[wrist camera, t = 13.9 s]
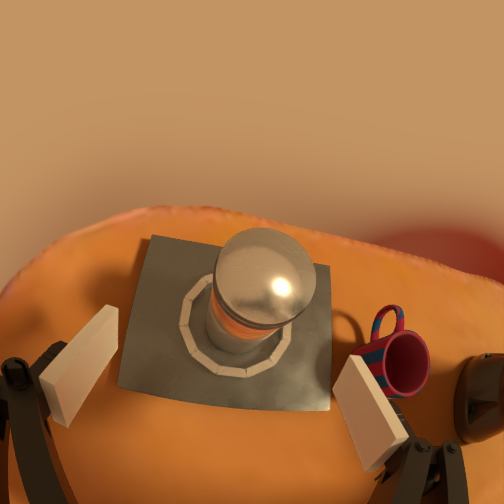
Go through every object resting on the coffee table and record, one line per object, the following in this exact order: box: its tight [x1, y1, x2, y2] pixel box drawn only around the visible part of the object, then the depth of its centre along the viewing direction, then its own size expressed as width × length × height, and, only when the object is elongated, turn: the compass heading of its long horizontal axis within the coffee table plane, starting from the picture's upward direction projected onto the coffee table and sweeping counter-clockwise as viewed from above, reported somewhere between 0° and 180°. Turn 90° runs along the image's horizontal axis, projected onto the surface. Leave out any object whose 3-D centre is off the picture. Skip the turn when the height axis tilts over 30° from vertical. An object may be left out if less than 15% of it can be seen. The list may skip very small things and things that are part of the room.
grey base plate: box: [117, 235, 332, 411], centre depth 25 cm, size 20×16×3 cm
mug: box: [351, 305, 430, 399], centre depth 24 cm, size 7×10×7 cm
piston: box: [206, 228, 316, 354], centre depth 20 cm, size 6×6×12 cm
